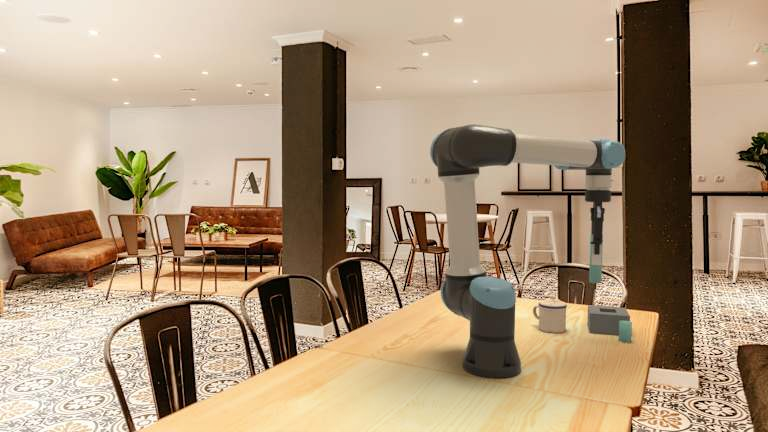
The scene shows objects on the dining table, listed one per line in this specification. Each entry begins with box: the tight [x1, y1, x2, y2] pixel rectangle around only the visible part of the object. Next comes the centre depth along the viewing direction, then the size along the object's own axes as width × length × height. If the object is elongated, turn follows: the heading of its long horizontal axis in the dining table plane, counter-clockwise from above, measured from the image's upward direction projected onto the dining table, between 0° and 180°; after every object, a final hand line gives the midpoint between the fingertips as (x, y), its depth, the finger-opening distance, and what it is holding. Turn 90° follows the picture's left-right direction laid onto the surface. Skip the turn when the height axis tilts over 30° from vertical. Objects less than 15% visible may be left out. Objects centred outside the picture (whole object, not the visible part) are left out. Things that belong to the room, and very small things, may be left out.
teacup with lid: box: [532, 294, 568, 334], centre depth 179 cm, size 12×9×12 cm
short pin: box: [618, 320, 633, 344], centre depth 165 cm, size 4×4×6 cm
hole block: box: [586, 305, 631, 336], centre depth 178 cm, size 12×12×6 cm
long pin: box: [588, 234, 604, 284], centre depth 166 cm, size 4×4×15 cm
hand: (595, 263), depth 166 cm, fingers closed on long pin, 3 cm apart
